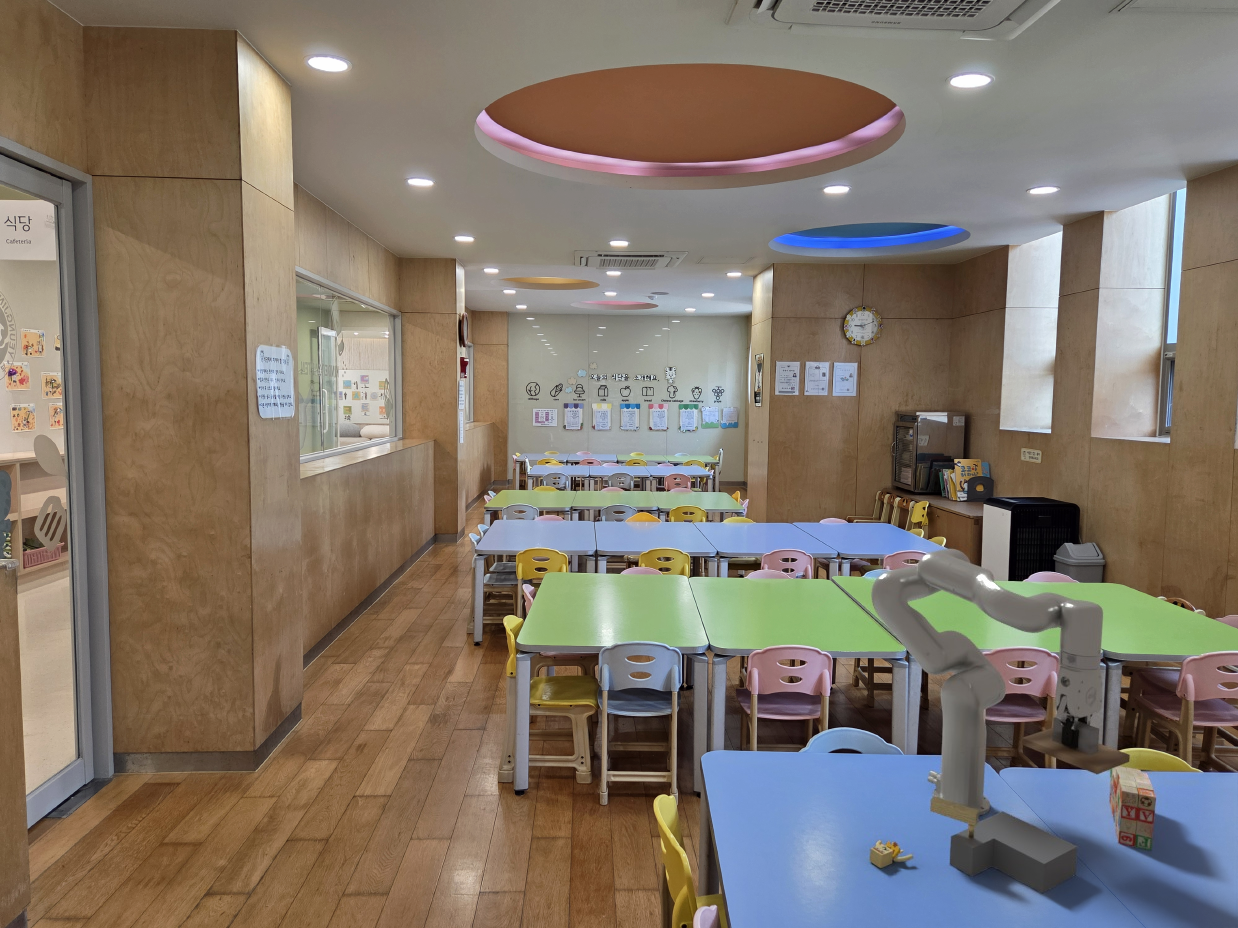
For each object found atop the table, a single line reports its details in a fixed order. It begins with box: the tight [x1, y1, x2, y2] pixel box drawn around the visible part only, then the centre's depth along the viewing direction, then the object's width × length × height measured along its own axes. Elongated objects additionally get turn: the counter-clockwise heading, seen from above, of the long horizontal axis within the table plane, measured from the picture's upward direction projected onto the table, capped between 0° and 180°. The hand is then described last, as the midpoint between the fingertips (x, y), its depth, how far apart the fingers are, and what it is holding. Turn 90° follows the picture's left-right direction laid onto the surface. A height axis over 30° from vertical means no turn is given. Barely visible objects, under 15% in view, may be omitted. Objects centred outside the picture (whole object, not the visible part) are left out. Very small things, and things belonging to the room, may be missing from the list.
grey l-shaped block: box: [949, 811, 1078, 894], centre depth 161 cm, size 16×19×6 cm
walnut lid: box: [1021, 716, 1131, 775], centre depth 167 cm, size 16×12×6 cm
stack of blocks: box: [1109, 765, 1157, 852], centre depth 179 cm, size 21×6×12 cm, turn 153°
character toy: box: [869, 840, 914, 869], centre depth 164 cm, size 8×3×8 cm
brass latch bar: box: [929, 796, 980, 838], centre depth 164 cm, size 2×9×6 cm, turn 51°
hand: (1074, 743), depth 168 cm, fingers closed on walnut lid, 3 cm apart
